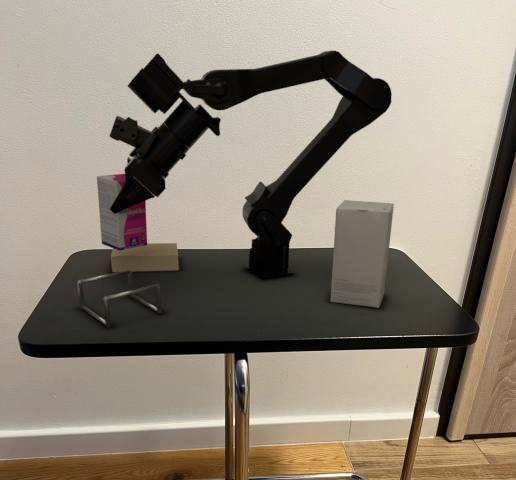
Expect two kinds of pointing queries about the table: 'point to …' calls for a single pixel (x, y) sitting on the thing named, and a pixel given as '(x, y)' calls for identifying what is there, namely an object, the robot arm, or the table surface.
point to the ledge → (146, 258)
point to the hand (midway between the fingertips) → (113, 206)
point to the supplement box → (120, 216)
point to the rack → (118, 295)
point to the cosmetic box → (361, 252)
